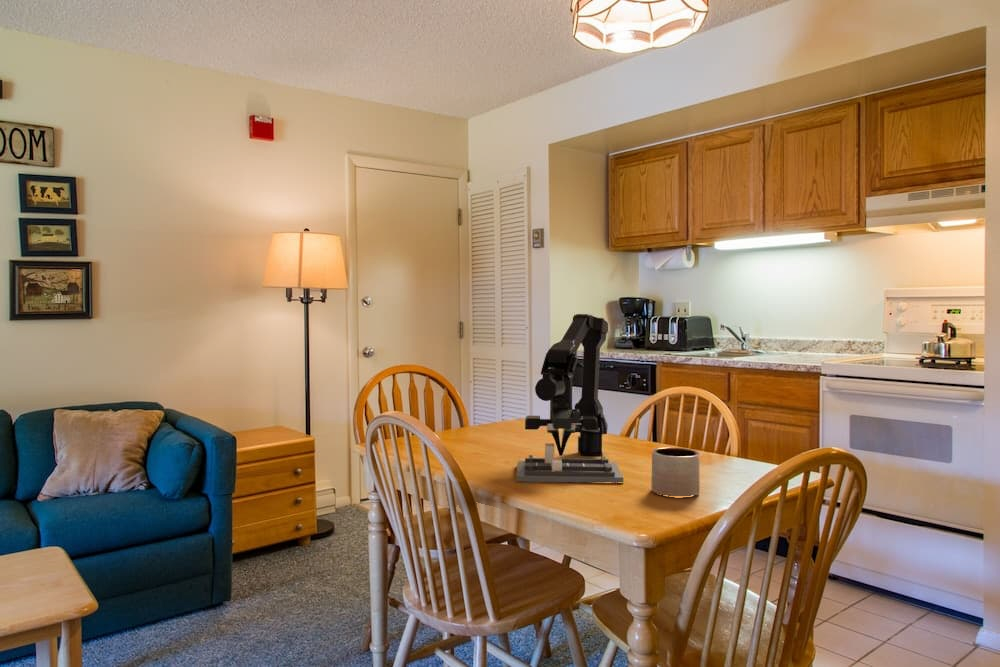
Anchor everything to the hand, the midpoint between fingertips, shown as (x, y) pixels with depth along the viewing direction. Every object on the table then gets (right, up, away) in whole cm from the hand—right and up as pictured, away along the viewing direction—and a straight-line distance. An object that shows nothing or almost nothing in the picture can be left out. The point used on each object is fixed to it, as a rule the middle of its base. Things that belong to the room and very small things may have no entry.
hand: (560, 455), depth 178 cm
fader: (-3, -2, 0) cm, 4 cm away
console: (+2, -4, -4) cm, 6 cm away
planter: (+25, -5, -20) cm, 32 cm away
